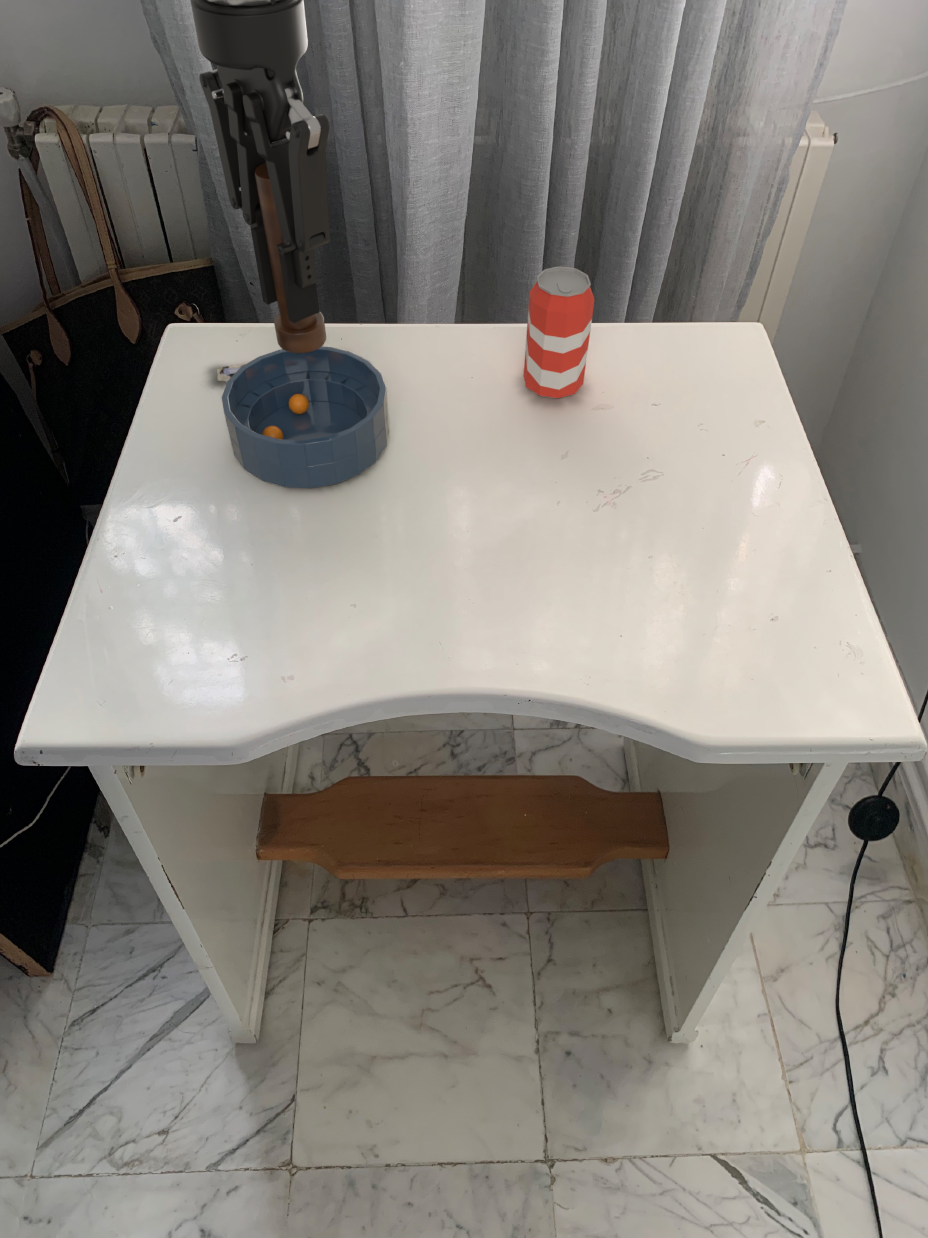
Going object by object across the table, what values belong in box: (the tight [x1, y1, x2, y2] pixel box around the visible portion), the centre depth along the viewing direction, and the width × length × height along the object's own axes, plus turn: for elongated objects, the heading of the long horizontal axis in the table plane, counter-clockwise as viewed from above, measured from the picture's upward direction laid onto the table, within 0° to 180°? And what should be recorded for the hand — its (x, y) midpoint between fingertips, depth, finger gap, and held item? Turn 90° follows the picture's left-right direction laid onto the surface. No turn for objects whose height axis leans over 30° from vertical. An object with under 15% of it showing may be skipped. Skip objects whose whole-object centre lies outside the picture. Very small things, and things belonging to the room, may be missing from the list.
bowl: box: [221, 345, 390, 489], centre depth 86 cm, size 15×15×6 cm
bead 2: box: [289, 394, 309, 414], centre depth 89 cm, size 2×2×2 cm
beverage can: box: [523, 265, 595, 400], centre depth 90 cm, size 6×6×12 cm
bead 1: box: [262, 426, 283, 439], centre depth 86 cm, size 2×2×2 cm
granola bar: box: [216, 363, 246, 382], centre depth 95 cm, size 7×2×1 cm, turn 102°
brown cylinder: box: [255, 163, 327, 353], centre depth 75 cm, size 4×4×15 cm
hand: (290, 306), depth 78 cm, fingers closed on brown cylinder, 3 cm apart
